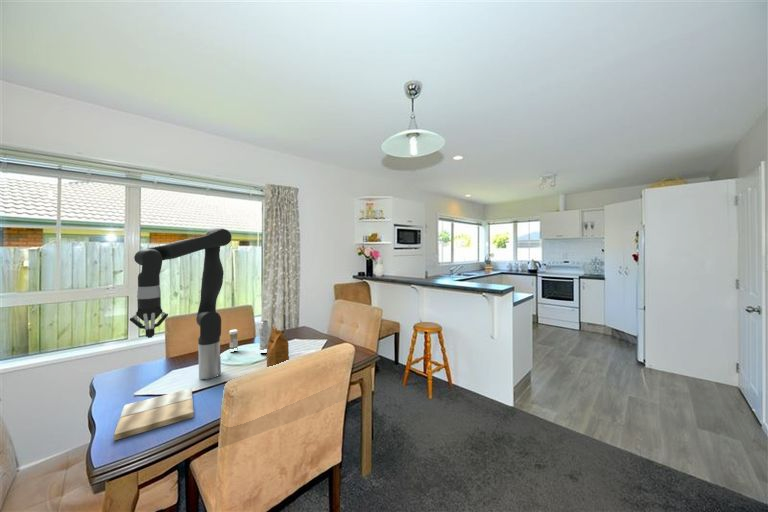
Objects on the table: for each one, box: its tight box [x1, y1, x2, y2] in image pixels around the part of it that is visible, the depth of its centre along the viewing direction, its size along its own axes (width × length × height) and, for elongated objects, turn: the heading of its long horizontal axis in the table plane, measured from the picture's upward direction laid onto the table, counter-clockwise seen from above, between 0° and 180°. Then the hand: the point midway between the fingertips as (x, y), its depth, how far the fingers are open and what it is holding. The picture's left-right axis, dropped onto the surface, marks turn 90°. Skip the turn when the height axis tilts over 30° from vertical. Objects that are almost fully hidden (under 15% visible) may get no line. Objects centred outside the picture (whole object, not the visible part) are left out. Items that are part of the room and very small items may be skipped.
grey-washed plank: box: [119, 388, 193, 419], centre depth 113 cm, size 22×10×2 cm, turn 126°
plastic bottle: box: [258, 320, 271, 350], centre depth 170 cm, size 6×7×20 cm
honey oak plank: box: [113, 398, 194, 441], centre depth 104 cm, size 22×12×2 cm, turn 126°
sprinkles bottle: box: [228, 329, 239, 350], centre depth 174 cm, size 5×5×14 cm
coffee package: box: [265, 326, 290, 368], centre depth 149 cm, size 10×12×22 cm
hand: (150, 337), depth 117 cm, fingers closed
